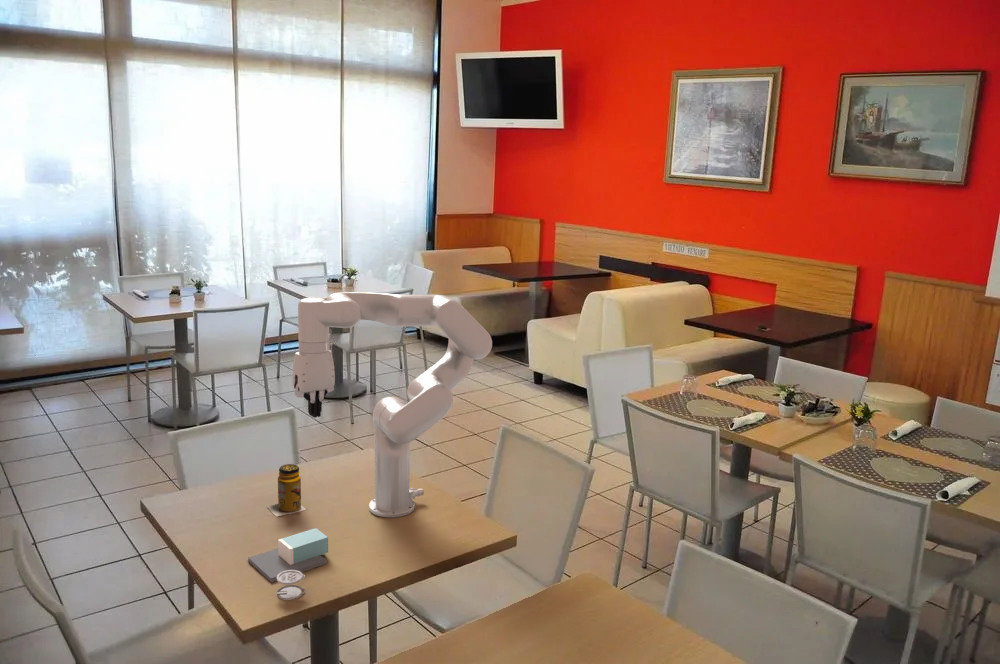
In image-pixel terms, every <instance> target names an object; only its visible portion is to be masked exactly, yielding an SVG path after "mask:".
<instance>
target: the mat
mask: <svg viewBox="0 0 1000 664" xmlns="http://www.w3.org/2000/svg"><path fill="white" fill-rule="evenodd" d="M247 562H248V563H249V564H250V565H251V566H253V567H254V568H255V569H256V570H257V571H258V572H259V573H260V574H261V575H262V576H264V577H265V578H266V579H267V580H268V581H269V582H270V583H273V582H276V581H277V575H278V574H279V573H281V572H283V571H286V570H297V571H300V572H301V573H303V572H305V571H309V570H311V569H314V568H317V567H318V568H319V567H321V566H323V565H326V564H327V559H326V558H324V557H323V556H322V555H319V556H316V557H313V558H310V559H307V560H304V561H301V562H298V563H295V564H292V565H290V564H289V563H288V562H286V561H285V560H284V559H283V558H282V557H280V556H279V551H278V547H277V548H274V549H272V550H268V551H265V552H261V553H259V554H255V555H252V556H250V557H248V558H247ZM277 582H278V581H277Z"/></svg>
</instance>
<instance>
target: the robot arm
mask: <svg viewBox="0 0 1000 664" xmlns="http://www.w3.org/2000/svg"><path fill="white" fill-rule="evenodd" d="M297 314H298V315H297V317H298V318H297V319H298V320H297V322H298V323H297V324H298V327H297V328H298V331H297V332H298V351H297V352H295V353H294V360H293V367H292V377H291V379H292V381H291V385H292V388H293V390H294V396H295V397H297V398H304V399H305V401H307V412H308V414H309V416H310V417H313V418H320V417H321V415H322V409H323V408H322V402H323V401H324V398H325V396H327V394H329V393H331V392H334V390H335V387H334V386H335V383H336V382H335V381H336V375H335V374H336V373H335V364H334V357H333V353H332V351H331V347H330V346H333V345H334V340H333V339H330V328H337V329H338V328H341V329H350V328H353V327H355V326H357V325H358V324H359V323H360V322H361V321H372V322H377V323H380V324H384V325H387V326H391V327H396V328H397V327H398V328H399V327H400V328H403V327H405V328H406V327H437V329H440V330H441V331H442V333H444V334H445V335H446V337H447V338H448V343H447V348H446V351H445V352H444V355H443V356H442V357H441V358H440V359H439V360H438V361H437V362H436V363H434V364H433V365H431V366H430V367H429V368H428V369H426V370H425V371H424V372H422V373H421V374H420V375H418V376H416V378H414V379H413V380H412V381H411V382H410V383H409V384H408V387H407V390H406V393H407V397H408V399H409V401H408V402H407V403H406V402H405V401H404V400H403V399H401V398H399V397H397V396H393V395H392V396H386V397H383V398H381V399H380V400H378V402H377V403H376V404H375V406H374V409H373V411H372V427H373V435H374V498H373V499H371V500H370V502H369V503H368V510H369V511H370V513H372V514H373V515H375V516H378V517H383V518H400V517H405V516H407V515H410V514H411V513H412V512H413V511H414V510H415V509H416V503H415V501H414V499H415V498H417V497H421V496H423V495H424V494H425V493H424V492H425V491H424V488H418V489H415V487H410V485H411V484H410V477H411V475H410V474H411V473H410V472H411V471H410V470H411V469H410V467H411V463H410V461H411V442H413V441H414V440H416V439H418V438H419V437H421V435H423V434H424V433H425V432H427V431H428V430H430V429H431V428H432V427H433V426H434V425H436V424H437V423H439V422H440V421H441V420H442V419H443V418H445V416H447V414H448V413H449V412H450V410H451V409H452V407H453V406H452V405H453V402H454V396H453V392H452V391H453V390H454V389H455V388H456V387H457V386H458V385H460V384H461V383H462V382H463V381H464V380H465V379H466V378H467V376H468V375H469V373H470V371H471V369H472V367H473V362H474V360H482V359H484V358H486V357H487V356H488V355H489V354H490V353H491V351H492V348H493V340H492V336H491V335H490V333H489V332H488V330H486V329H485V328H484V327H483V326H482V324H481V323H479V322H478V321H477V319H475V317H474V316H472V315H471V313H469V311H468V310H467V309H466V308H465V307H464V306H463V305H462V304H461V303H459V302H458V301H457V300H455V299H453V298H451V297H449V296H447V295H444V294H436V293H435V294H404V293H403V294H400V293H399V294H397V293H394V294H393V293H381V292H380V293H379V292H363V291H362V292H361V291H359V292H358V291H356V292H355V291H351V292H349V291H346V292H345V291H343V292H342V291H341V292H340V291H339V292H335V293H332V294H329V296H328V297H326V299H325V298H322V297H305V298H302V299H300V300H299V301H298V306H297Z"/></svg>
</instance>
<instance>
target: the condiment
mask: <svg viewBox="0 0 1000 664" xmlns="http://www.w3.org/2000/svg"><path fill="white" fill-rule="evenodd" d="M299 467H300V466H298V465H297V464H294V463H287V464H283V465H281V466H280V467H279V469H278V477H277V497H278V498H277V501H278V503H275V504H271V505H267V506H266V507H267V509H268V510H269V511H270V512H271V514H273V515H274V516H275V517H276V518H277V517H278V518H279V517H280V516H284V515H285V516H286V515H288V514H289V515H291V514H296V513H300V512H302V511H303V512H304V511H306V510H307V508H305V507H304V506H303V505H302V483H301V482H302V481H301V478H302V477H301V475H300V468H299Z"/></svg>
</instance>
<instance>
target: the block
mask: <svg viewBox="0 0 1000 664" xmlns="http://www.w3.org/2000/svg"><path fill="white" fill-rule="evenodd" d="M277 541H278V542H277V543H278V545H277V548H278V551H279V556H280V557H282V558H283V559H284V560H285V561H286V562H288V563H289V564H290V565H292V564H295V563H298V562H301V561H304V560H307V559H310V558H313V557H316V556H319V555H321V556H322V555H324V554H327V553H329V537H328V536H327V535H326V534H324V533H323V532H322V531H320V530H319V529H318V528H317V527H316V528H311V529H308V530H305V531H302V532H298V533H295V534H293V535H289V536H285V537H282V538H279V539H277Z"/></svg>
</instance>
